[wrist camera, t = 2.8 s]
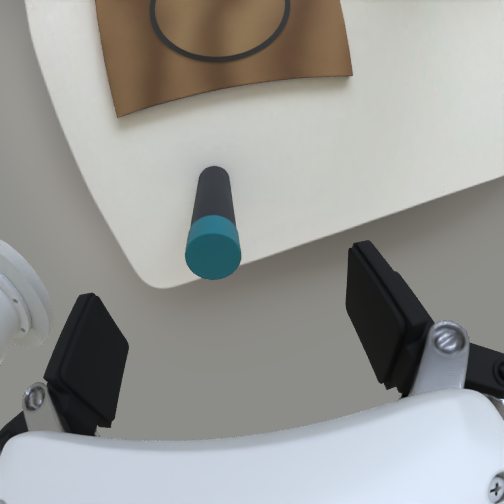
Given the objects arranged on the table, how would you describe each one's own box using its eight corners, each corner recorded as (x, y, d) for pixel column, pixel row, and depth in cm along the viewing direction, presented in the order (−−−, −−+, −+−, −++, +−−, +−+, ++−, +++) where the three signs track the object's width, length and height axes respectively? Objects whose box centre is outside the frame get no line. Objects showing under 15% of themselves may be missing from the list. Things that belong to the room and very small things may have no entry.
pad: (119, 117, 18) (116, 118, 17) (94, -26, 10) (91, -29, 10) (350, 76, 18) (354, 76, 18) (318, -63, 10) (321, -66, 10)
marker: (202, 198, 22) (193, 284, 13) (195, 169, 21) (178, 239, 12) (232, 191, 23) (245, 274, 13) (226, 162, 21) (235, 227, 12)
